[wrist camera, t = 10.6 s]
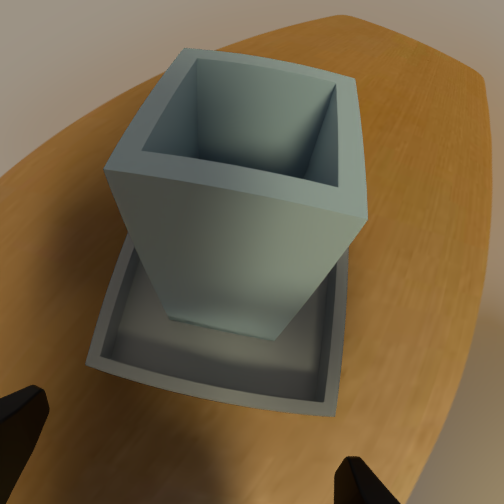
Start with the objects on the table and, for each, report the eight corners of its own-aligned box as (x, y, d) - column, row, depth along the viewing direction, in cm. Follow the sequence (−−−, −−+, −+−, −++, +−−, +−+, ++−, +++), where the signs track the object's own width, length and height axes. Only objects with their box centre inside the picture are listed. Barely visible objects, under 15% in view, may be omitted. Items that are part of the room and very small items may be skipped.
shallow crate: (320, 416, 17) (335, 416, 14) (100, 370, 17) (85, 364, 14) (337, 226, 23) (348, 206, 21) (159, 191, 23) (155, 168, 20)
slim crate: (274, 341, 18) (367, 219, 7) (169, 319, 18) (103, 169, 7) (287, 248, 21) (355, 78, 10) (194, 229, 20) (183, 48, 9)
